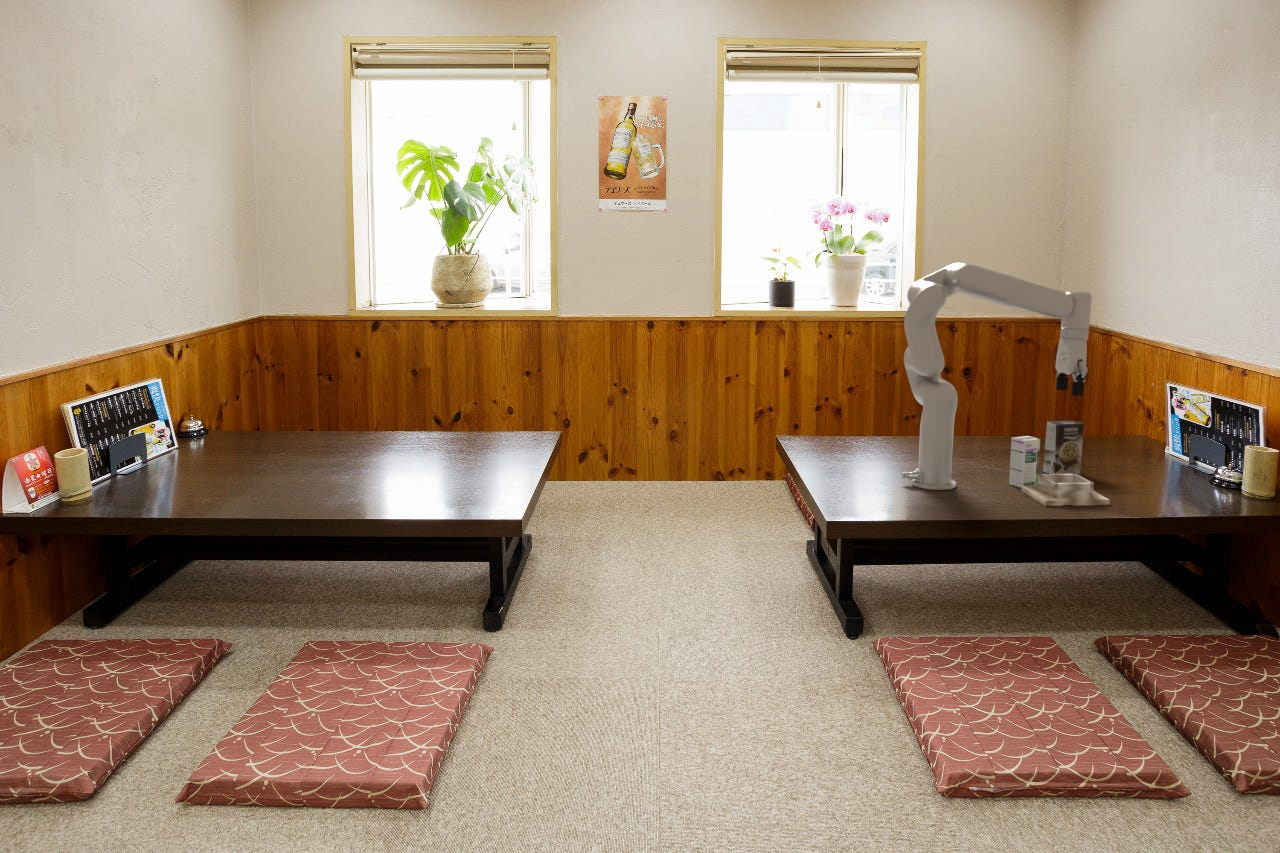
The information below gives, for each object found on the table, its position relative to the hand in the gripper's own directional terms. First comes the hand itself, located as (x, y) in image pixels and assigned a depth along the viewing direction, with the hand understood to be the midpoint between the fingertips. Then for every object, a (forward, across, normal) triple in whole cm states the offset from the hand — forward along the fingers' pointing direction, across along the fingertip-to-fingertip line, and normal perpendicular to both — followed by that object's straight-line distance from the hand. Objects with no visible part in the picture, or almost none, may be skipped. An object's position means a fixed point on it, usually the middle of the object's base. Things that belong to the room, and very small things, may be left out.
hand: (1069, 392), depth 301 cm
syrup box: (+28, +1, -12) cm, 30 cm away
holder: (+28, +15, -6) cm, 32 cm away
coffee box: (+28, -13, +6) cm, 31 cm away
